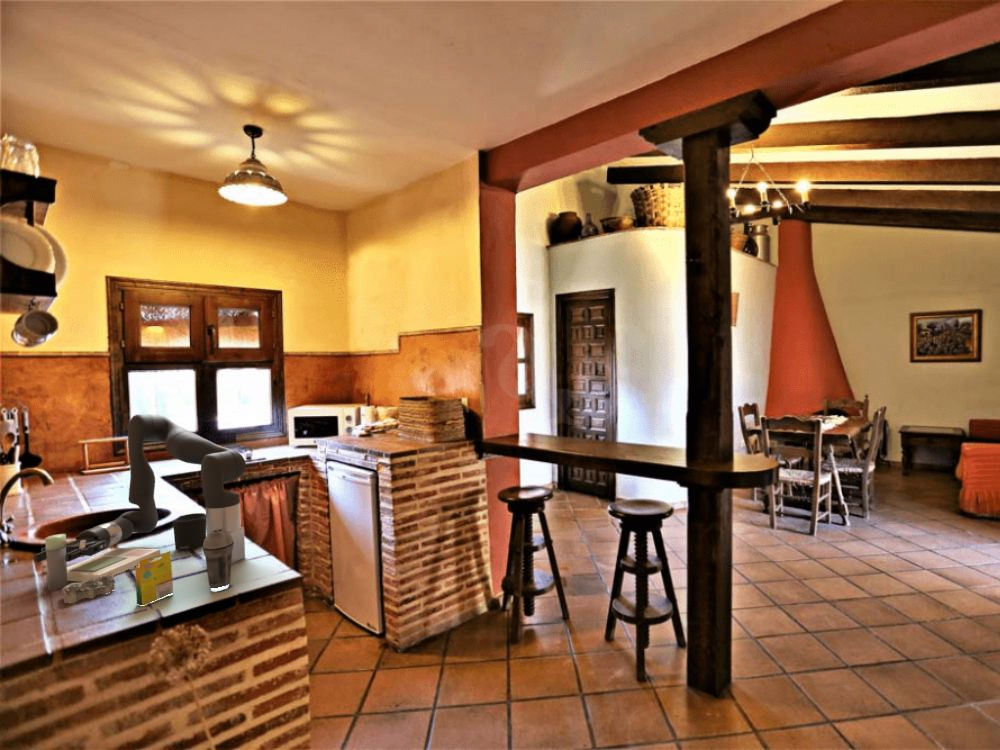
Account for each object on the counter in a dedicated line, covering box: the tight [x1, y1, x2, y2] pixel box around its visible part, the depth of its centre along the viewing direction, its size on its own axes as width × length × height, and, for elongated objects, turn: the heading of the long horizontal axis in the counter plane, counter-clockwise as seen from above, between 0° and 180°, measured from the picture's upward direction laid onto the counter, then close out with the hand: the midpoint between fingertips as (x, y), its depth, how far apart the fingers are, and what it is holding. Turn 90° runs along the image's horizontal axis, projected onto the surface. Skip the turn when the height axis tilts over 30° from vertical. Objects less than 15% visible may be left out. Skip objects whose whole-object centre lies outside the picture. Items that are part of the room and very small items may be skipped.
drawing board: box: [67, 547, 161, 582], centre depth 150 cm, size 16×20×2 cm
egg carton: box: [62, 573, 117, 604], centre depth 131 cm, size 11×8×4 cm
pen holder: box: [172, 512, 207, 552], centre depth 166 cm, size 9×9×10 cm
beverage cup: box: [202, 512, 234, 589], centre depth 132 cm, size 7×7×20 cm
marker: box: [44, 533, 69, 591], centre depth 136 cm, size 4×4×14 cm
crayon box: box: [134, 551, 174, 605], centre depth 126 cm, size 7×3×12 cm, turn 150°
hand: (51, 558), depth 135 cm, fingers open, 8 cm apart
